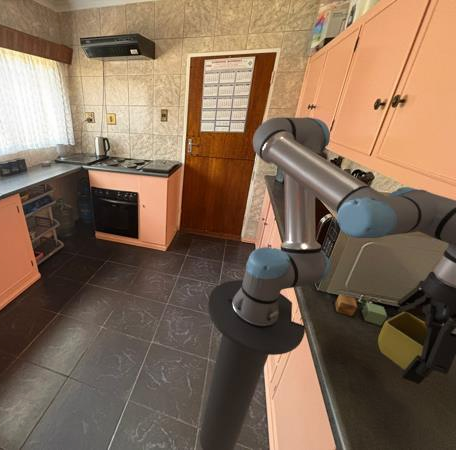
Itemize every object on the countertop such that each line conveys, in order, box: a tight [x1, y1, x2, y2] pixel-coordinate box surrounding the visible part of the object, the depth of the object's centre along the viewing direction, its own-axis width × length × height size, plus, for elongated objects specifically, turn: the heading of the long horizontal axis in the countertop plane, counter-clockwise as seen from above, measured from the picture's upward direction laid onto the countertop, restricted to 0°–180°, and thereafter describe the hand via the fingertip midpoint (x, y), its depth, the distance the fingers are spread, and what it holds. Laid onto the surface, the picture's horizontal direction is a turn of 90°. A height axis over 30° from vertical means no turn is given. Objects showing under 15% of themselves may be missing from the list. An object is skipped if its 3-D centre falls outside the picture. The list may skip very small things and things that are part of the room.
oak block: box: [334, 293, 358, 317], centre depth 86 cm, size 4×4×4 cm
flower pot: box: [377, 312, 427, 371], centre depth 54 cm, size 9×9×9 cm
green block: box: [361, 301, 388, 326], centre depth 83 cm, size 4×4×4 cm
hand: (400, 355), depth 56 cm, fingers closed on flower pot, 11 cm apart
